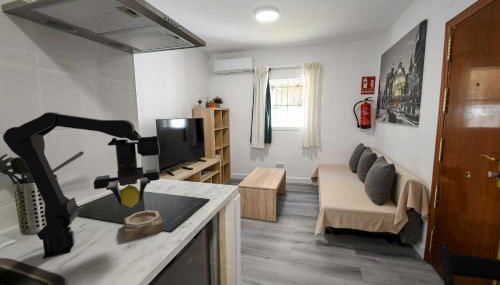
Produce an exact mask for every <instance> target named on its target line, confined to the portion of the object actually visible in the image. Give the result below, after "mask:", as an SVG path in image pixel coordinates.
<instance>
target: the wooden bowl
mask: <svg viewBox="0 0 500 285" xmlns="http://www.w3.org/2000/svg"><path fill="white" fill-rule="evenodd" d="M123 221H124V222H123V223H124V236H125V241H128V240H132V239H135V238H136V239H137V238H139V237H143V236H147V235H150V234H154V233H158V232H162V231H164V222H163V219H162V217H161V215H160V212H159V210H143V211H142V210H141V211H138V212H135V213H133V214H130V215H129V216H127V217H124V219H123Z"/></svg>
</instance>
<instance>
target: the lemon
mask: <svg viewBox="0 0 500 285" xmlns="http://www.w3.org/2000/svg"><path fill="white" fill-rule="evenodd" d="M120 192H121V193H120V195H121V201H122V205H124V206H126V207H129V208H130V209H131V208H133V207H134V206H135V205H137V204H138V202H139V201H140V198H139V193H140V190H138V187H136V186H134V185H132V184H129V185H125V187H124V188H122V190H121V191H120Z"/></svg>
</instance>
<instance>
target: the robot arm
mask: <svg viewBox="0 0 500 285" xmlns="http://www.w3.org/2000/svg"><path fill="white" fill-rule="evenodd" d="M58 127H60V128H69V129H75V130H84V131H92V132H97V133H98V132H100V133H101V134H104V135H108V136H111V137H112V139H111V140H110V141H109V142H108V143H107V146H108V147H109V146H114V147H115V154H116V155H115V156H116V165H117V167H116V168H117V171H116V172H117V174H116V175H117V176H114V177H111V175H110V174H108V175H99V176H96V177H95V178H94V180H93V189H94V190H101V189H105V190H106V191H109V190H110V191H111V192H112V193H113V194H114V197H115V198H116V200H117V201H118V203H119V205H120V206H121V205H123V203H122V201H121V193H120V192H121V191H120V187H119V186H121V187H124V186H125V187H126V186H128V185H131V186H134V185H136V184H138V181H139V202H142V199H143V195H144V193H145V189H146V187H147V185H148V184H151V182H154V181H159V180H160V179H161V178H160V172H159V170H158V169H146V170H145V172H144V169H143V166H140V167H138V161H137V154H138V155H139V156H141V158H142V157H143V158H144V157H152V156H160V154H161V152H160V143H159V136H158V135H152V136H142V135H141V134H139V133H138V132H137V131H136V126H135V124H134V123H133V122H132V121H131V120H128V119H98V118H91V117H84V116H83V117H82V116H77V115H70V114H63V113H59V112H52V111H50V112H48V111H47V112H44V113H43V114H42V115H40V116H38V117H36V118H34V119H32V120H30V121H28V122H25V123H23V124H21V125H19V126H14V127H10V128H8V129H6V130H5V132H4V133H3V134H2V139H3V141H4V142H5V144H6V145H7V146H8V148H9V149H10V150H11V152H12V153H14V154H15V155H16V156H17V157H18V158H20V159H22V160H23V162H24V164H25V166H26V168H27V170H28V173H29V175H30V176H31V178H32V181H33V182H34V185H35V186H36V189H37V190H38V193H39V195H40V197H41V199H42V200H43V203H44V214H43V216H44V219H45V223H46V225H45V226H43V227H42V228H41V229H40V230H39V232H37V233H36V235H37V237H38V238H39V240H40V241H42V246H43V255H42V259H47V258H51V257H55V256H59V255H62V254H66V253H67V254H68V253H69V252H71V251H72V249H73V247H74V246H75V243H76V241H75V233H74V231H73V230H72V227H71V225H72V223H73V222H74V220H76V218H77V217H78V215H79V209H80V206H79V205H77V202H76V198H75V197H71V198H69V197H67V196H66V195H64V193H63V190H62V189H61V186H60V184H59V182H58V179H57V178H56V176H55V174H54V171H53V169H52V168H51V165H50V163H49V161H48V159H47V157H46V155H45V149H46V148H45V146H46V144H45V137H44V136H46V135H47V134H48V135H49V133H51V132H52V131H53V130H54V129H56V128H58ZM129 140H130V141H129Z"/></svg>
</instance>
